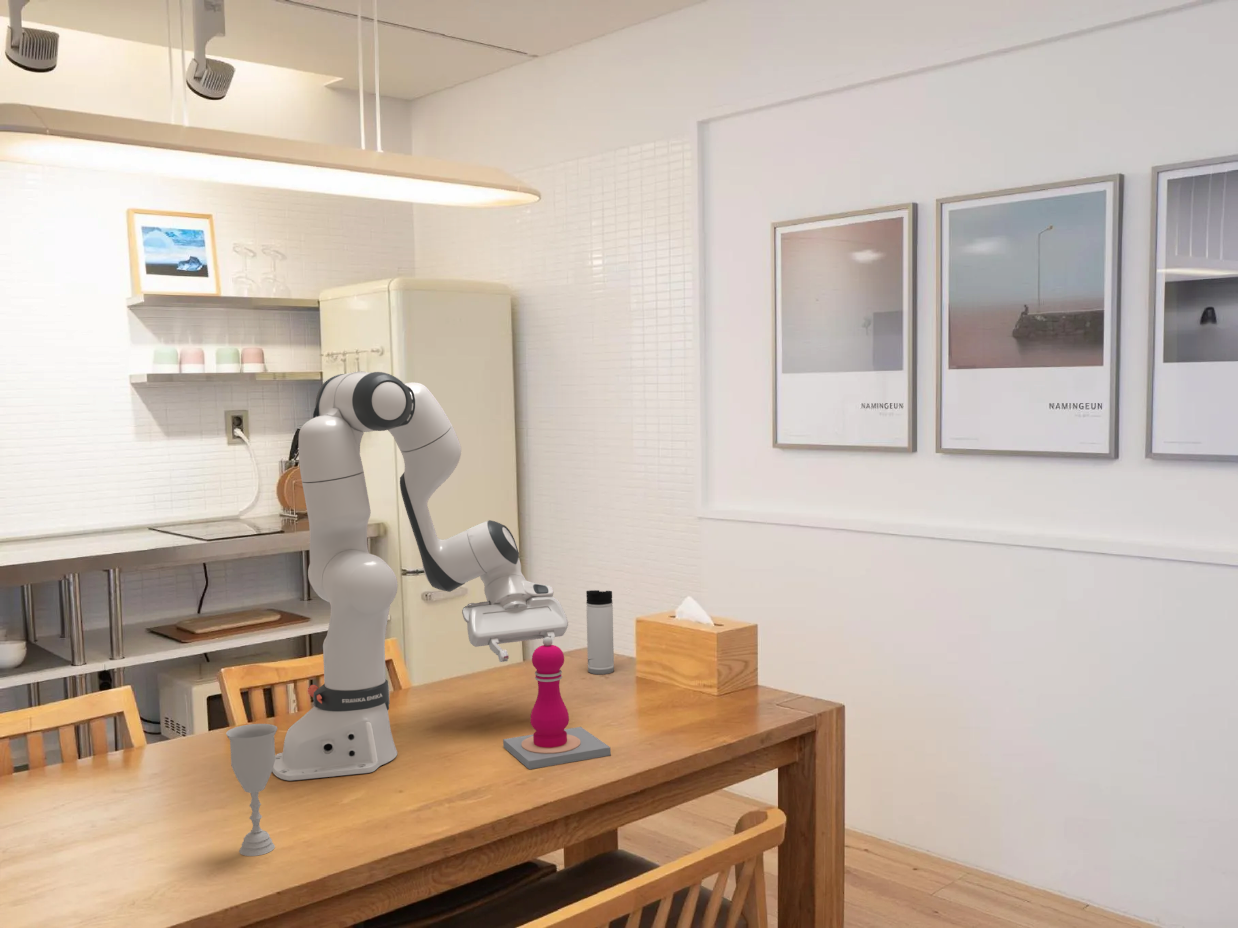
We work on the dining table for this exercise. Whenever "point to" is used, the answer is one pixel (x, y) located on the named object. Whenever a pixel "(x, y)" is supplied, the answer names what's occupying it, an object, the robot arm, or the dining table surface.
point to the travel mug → (600, 632)
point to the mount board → (557, 749)
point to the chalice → (253, 776)
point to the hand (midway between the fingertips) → (527, 657)
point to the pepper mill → (549, 697)
